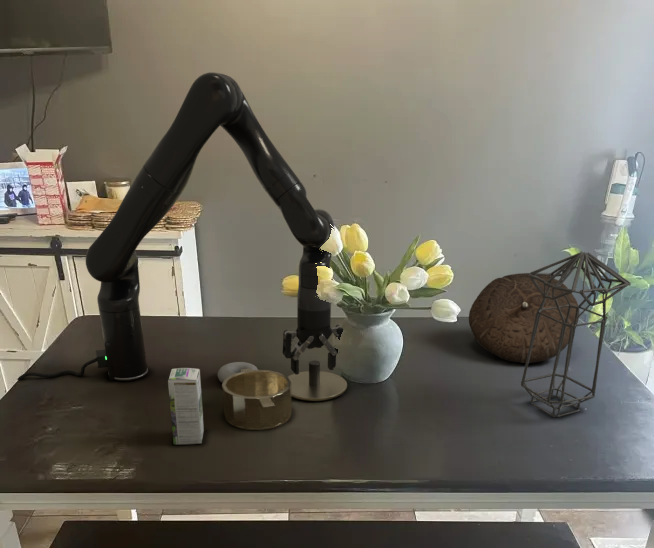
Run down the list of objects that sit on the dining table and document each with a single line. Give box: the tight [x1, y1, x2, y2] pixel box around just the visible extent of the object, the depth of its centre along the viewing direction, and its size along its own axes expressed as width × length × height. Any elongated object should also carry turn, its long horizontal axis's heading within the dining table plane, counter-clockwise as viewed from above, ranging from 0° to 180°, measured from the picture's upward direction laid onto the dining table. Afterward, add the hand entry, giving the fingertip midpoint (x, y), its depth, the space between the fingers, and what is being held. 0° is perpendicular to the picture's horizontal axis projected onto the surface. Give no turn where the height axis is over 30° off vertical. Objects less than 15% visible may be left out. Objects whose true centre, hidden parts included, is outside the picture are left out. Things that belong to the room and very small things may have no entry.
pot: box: [221, 368, 293, 431], centre depth 147 cm, size 15×20×8 cm
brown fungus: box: [468, 272, 580, 364], centre depth 178 cm, size 28×23×25 cm
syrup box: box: [167, 367, 205, 446], centre depth 136 cm, size 6×6×14 cm
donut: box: [217, 361, 259, 384], centre depth 164 cm, size 10×4×10 cm
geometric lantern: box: [520, 250, 632, 418], centre depth 145 cm, size 16×16×35 cm
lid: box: [287, 360, 348, 402], centre depth 159 cm, size 16×16×7 cm
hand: (313, 371), depth 159 cm, fingers open, 8 cm apart
